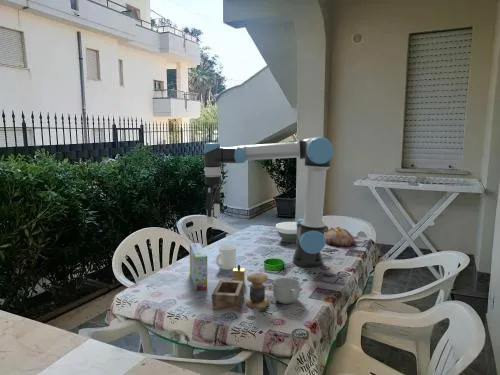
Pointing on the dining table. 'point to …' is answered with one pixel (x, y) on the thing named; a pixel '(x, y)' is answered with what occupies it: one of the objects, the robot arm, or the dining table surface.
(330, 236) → the bread
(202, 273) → the snack box
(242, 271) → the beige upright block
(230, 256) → the mug
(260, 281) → the bobbin
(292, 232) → the bowl
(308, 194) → the robot arm
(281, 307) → the dining table surface
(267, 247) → the dining table surface
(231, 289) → the open wooden crate
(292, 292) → the teacup
